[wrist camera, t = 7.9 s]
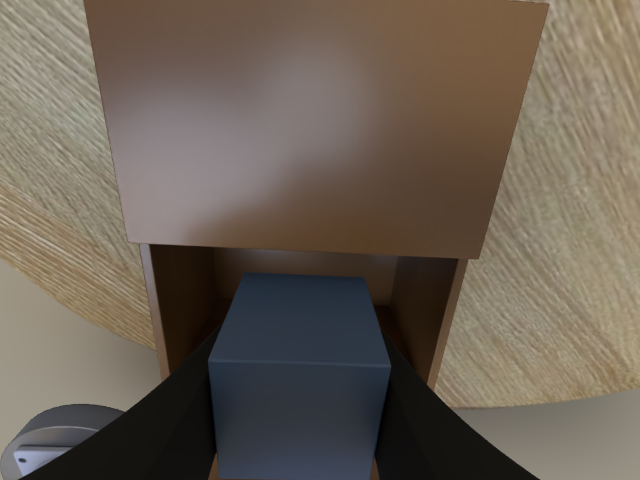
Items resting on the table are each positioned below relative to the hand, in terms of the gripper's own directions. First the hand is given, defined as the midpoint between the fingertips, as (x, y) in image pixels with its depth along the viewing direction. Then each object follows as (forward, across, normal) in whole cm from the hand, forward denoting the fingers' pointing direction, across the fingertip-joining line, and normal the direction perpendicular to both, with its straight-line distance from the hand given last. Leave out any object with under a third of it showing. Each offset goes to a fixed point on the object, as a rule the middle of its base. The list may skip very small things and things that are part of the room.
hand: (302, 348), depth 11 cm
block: (+1, 0, 0) cm, 1 cm away
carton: (+9, 0, -4) cm, 9 cm away
